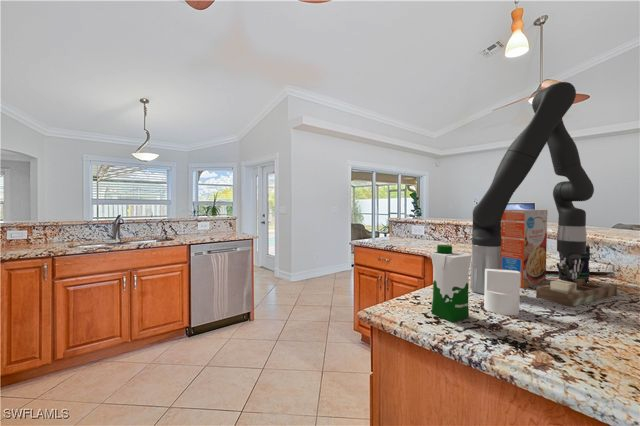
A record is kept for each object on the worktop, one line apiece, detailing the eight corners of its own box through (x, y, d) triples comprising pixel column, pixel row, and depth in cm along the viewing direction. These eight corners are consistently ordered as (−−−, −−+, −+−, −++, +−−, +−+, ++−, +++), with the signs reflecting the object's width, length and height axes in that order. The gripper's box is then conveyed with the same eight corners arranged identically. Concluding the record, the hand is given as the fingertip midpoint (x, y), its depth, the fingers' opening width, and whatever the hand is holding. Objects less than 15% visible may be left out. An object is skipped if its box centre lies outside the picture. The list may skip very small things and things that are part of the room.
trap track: (571, 306, 89) (571, 295, 89) (536, 297, 98) (536, 287, 98) (616, 294, 101) (616, 284, 101) (581, 287, 110) (581, 278, 110)
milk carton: (446, 308, 88) (447, 243, 87) (474, 318, 80) (475, 247, 79) (426, 313, 83) (427, 245, 83) (453, 324, 75) (454, 250, 75)
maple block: (567, 297, 92) (568, 285, 92) (550, 292, 97) (550, 281, 96) (576, 295, 94) (576, 283, 94) (558, 291, 99) (558, 279, 98)
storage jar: (568, 282, 116) (569, 246, 116) (552, 276, 126) (553, 243, 126) (596, 284, 115) (597, 247, 114) (578, 277, 124) (579, 244, 124)
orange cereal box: (523, 288, 108) (524, 210, 107) (500, 283, 115) (501, 210, 114) (545, 279, 121) (547, 209, 120) (523, 275, 128) (525, 209, 127)
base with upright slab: (487, 313, 84) (488, 272, 83) (481, 303, 92) (482, 266, 92) (523, 317, 81) (524, 275, 80) (514, 306, 89) (514, 268, 89)
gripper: (574, 241, 91) (572, 294, 91) (595, 239, 96) (593, 289, 97) (547, 238, 98) (546, 288, 98) (568, 237, 103) (567, 284, 104)
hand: (569, 289), depth 97 cm, fingers closed
